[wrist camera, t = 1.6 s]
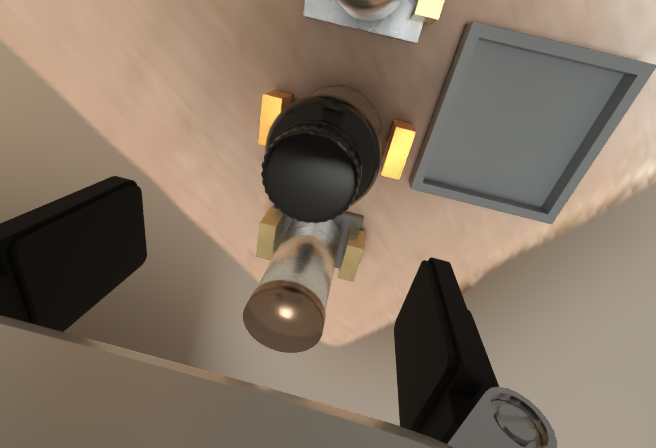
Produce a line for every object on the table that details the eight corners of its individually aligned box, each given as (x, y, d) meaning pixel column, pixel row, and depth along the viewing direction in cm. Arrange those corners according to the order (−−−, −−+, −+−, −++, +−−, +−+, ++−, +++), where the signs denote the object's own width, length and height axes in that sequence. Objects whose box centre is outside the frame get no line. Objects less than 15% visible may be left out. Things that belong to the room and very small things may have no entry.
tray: (466, 24, 21) (473, 21, 19) (636, 64, 20) (657, 65, 19) (408, 180, 26) (410, 188, 25) (541, 214, 26) (551, 224, 24)
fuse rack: (297, -106, 19) (198, -301, 8) (475, -65, 18) (596, -216, 8) (257, 243, 32) (199, 333, 21) (362, 270, 31) (354, 375, 21)
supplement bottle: (397, 138, 25) (412, 199, 14) (331, 185, 27) (302, 264, 17) (346, 62, 23) (318, 68, 12) (280, 121, 25) (211, 166, 15)
